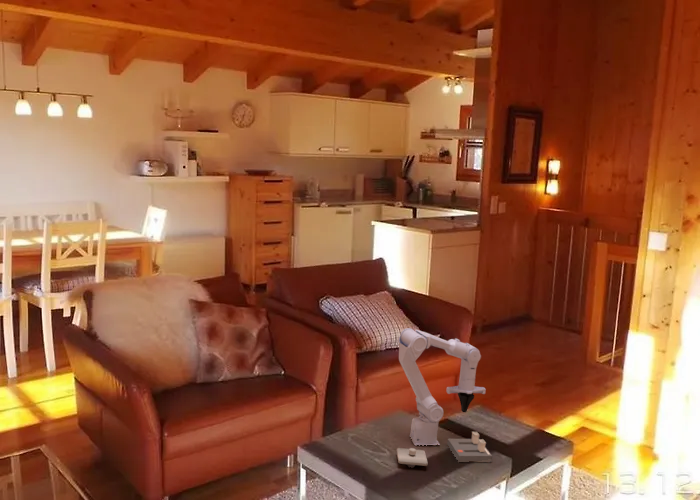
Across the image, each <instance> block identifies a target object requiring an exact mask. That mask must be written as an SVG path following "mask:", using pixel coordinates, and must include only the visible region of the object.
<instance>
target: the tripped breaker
mask: <svg viewBox="0 0 700 500" xmlns="http://www.w3.org/2000/svg"><path fill="white" fill-rule="evenodd" d="M478 441H479V442H478V450H479V451H480V452H484V451H485V447H486V444H487V442H486V441H485V440H484V439H483V438H482V439H480V438H479V439H478Z"/></svg>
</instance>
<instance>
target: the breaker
mask: <svg viewBox="0 0 700 500" xmlns="http://www.w3.org/2000/svg"><path fill="white" fill-rule="evenodd" d="M471 439H472V440H471V441H472V442H473V444H478V439H480V434H479V433H478V431H471Z"/></svg>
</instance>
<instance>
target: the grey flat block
mask: <svg viewBox="0 0 700 500" xmlns="http://www.w3.org/2000/svg"><path fill="white" fill-rule="evenodd" d="M471 440H472V438H447V441H446V446H447V445H448V446H449V447H448V446H447V447H448V449H449V448H450V449H449V450H450V452H451V451H452V452H451V454H452V455H453V454H454V455H453V456H454V458H455V457H456V458H455V460H456V461H457V460H458V461H457V463H459V462H469V461H482V460H488V459H493V455H492V454H491V452H490V451H489V449H487V447H486V446H485V451H484V452H480V451H479V450H478V444H473V442H472V441H471ZM478 442H479V441H478Z"/></svg>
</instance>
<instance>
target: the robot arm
mask: <svg viewBox="0 0 700 500" xmlns="http://www.w3.org/2000/svg"><path fill="white" fill-rule="evenodd" d="M397 343H398V346H399V347H398V361H399V363H400V364H399V365H400V366H401V368H402V370H403V372H404V374H405V376H406V378H407V380H408V382H409V383H410V386H411V389H412V391H413V392H414V394H415V396H416V397H415V402H416V409H417V411H418V416H417V417H413V418H412V419H411V425H410V434H409V437H411V438H410V440H411V439H412V440H411V441H412V443H413V445H414V446H415V447H419V446H420V445H422V446H424V445H426V446H427V445H437V444H438V445H441V444H440V442H439V441H438V437H437V436H438V431H439V422H440V421H441V420H442V419H443V417H444V409H443V407H441V405H439V404H438V402H437V401H436V399H435V398H434V397H433V396H432V393H431V392H430V390H429V387H428V385H427V383H426V381H425V378H424V376H423V375H422V372H421V371H420V367H419V366H418V364H417V362H416V361H417V360H418V358H419V357H420V356H421V355H422V353H423V352H424V351H425V350H426V349H427V350H428V349H429V348H430V347H431V346H432V347H435V348H439V349H442V350H444V351H445V353H446V354H447V355H448V356H453V357H454V358H455V357H456V358H458V359H460V370H459V371H460V372H459V381H458V385H454V386H446V391H445V392H446V393H447V394H448V395H450V394H456V395H458V399H459V402H460V408H461V412H462V413H467V412H468V409H469V406H470V405H471V403H472V401H473V400H474V398H475V394H482V395H485V394H486V390H487V389H486V388H485V387H484V386H476V384H475V383H476V375H477V374H476V373H477V367H478V364H479V361H480V360H481V359H482V355H481V352H480V350H479V348H477V347H475V346H473V345H471V344H470V343H468V342H463V341H461V340H460V339H458V338H456V337H455V338H451V339H448V340H446V339H443V338H440V337H439V336H436V335H433V334H431V333H429V332H426V331H422V330H419V329H415V330H414V329H413V328H411V327H408V328H407V327H406V328H404V329H402V331H401V332H400V335H399V336H398V338H397ZM417 445H419V446H417ZM422 446H421V447H422ZM426 446H425V447H426ZM427 447H428V446H427Z"/></svg>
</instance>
